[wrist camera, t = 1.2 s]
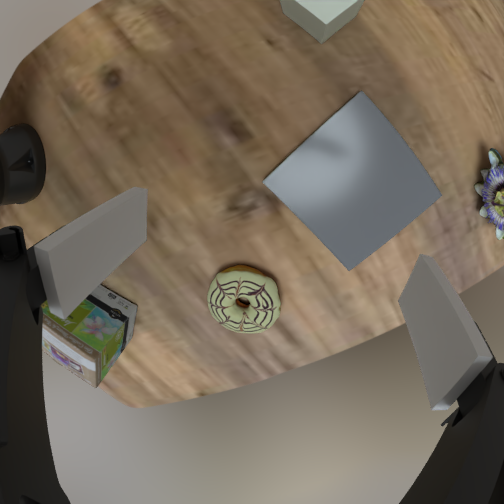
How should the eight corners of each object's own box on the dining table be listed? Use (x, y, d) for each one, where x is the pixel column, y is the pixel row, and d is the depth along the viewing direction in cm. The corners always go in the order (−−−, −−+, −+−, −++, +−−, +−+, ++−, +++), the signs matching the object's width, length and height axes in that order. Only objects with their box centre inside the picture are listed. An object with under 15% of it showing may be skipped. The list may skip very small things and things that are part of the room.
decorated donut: (283, 264, 40) (280, 278, 36) (280, 324, 45) (278, 340, 41) (209, 259, 41) (201, 273, 38) (216, 318, 46) (209, 333, 43)
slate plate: (263, 179, 35) (262, 182, 34) (359, 91, 28) (361, 90, 27) (347, 266, 38) (349, 271, 37) (438, 192, 31) (442, 195, 30)
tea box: (139, 303, 48) (95, 361, 35) (133, 337, 53) (97, 391, 40) (74, 266, 47) (24, 311, 35) (74, 302, 52) (33, 346, 39)
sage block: (283, 13, 25) (276, -13, 18) (317, -14, 22) (319, -43, 15) (321, 44, 26) (326, 24, 19) (355, 16, 23) (368, -7, 16)
